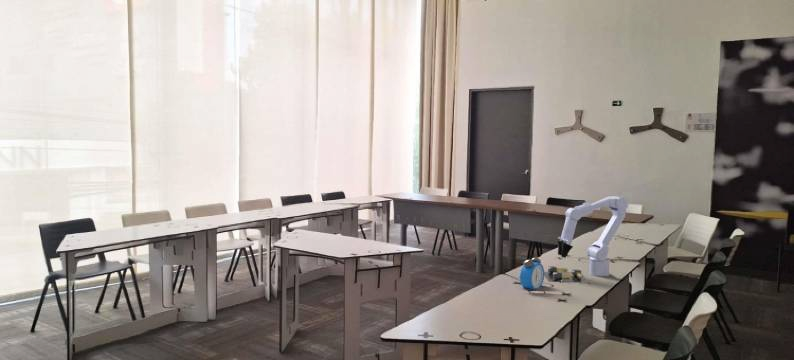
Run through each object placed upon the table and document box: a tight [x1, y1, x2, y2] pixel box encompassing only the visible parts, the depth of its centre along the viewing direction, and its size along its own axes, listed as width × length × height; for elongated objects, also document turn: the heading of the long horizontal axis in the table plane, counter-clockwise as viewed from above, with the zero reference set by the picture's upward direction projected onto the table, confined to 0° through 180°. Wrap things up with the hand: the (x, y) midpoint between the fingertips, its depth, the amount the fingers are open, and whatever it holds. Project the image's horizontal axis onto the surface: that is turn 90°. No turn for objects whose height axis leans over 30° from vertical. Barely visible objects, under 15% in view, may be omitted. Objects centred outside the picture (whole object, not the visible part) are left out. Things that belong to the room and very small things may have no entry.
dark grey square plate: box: [544, 271, 590, 284], centre depth 272 cm, size 20×20×2 cm
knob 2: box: [553, 272, 573, 280], centre depth 266 cm, size 10×4×3 cm, turn 85°
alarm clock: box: [519, 256, 545, 292], centre depth 253 cm, size 13×6×15 cm, turn 136°
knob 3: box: [571, 269, 583, 278], centre depth 268 cm, size 10×4×3 cm, turn 175°
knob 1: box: [547, 265, 569, 274], centre depth 278 cm, size 10×4×3 cm, turn 85°
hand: (561, 256), depth 273 cm, fingers open, 7 cm apart
